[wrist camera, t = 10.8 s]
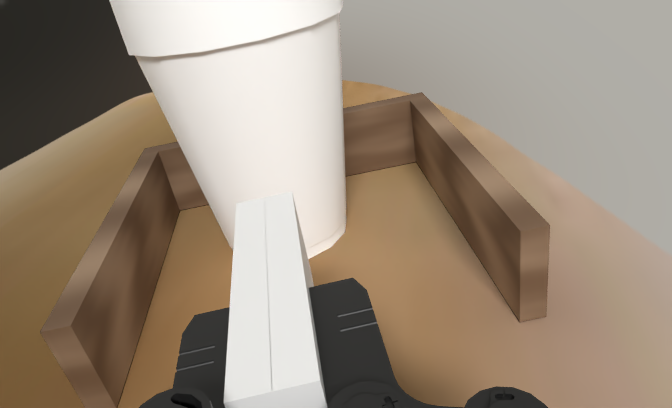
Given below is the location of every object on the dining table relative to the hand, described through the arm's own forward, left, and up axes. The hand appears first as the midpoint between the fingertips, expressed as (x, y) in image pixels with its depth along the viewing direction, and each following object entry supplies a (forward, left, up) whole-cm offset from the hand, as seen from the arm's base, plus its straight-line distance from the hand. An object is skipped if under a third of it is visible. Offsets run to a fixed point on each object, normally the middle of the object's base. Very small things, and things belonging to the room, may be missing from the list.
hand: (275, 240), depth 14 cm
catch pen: (-4, +9, -7) cm, 12 cm away
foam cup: (-6, +10, -7) cm, 13 cm away
